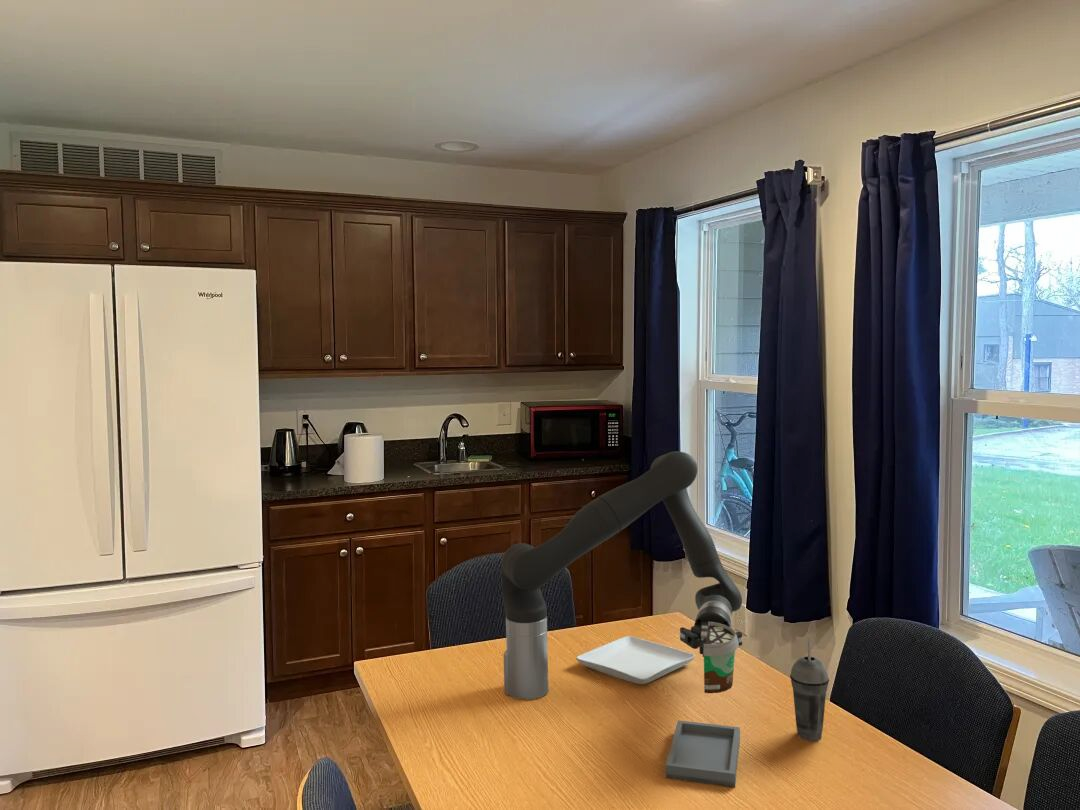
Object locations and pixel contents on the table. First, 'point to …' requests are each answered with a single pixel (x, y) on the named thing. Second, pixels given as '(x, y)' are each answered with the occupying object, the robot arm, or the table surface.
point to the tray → (704, 753)
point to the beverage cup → (809, 695)
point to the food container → (719, 658)
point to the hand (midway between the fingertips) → (707, 652)
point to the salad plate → (635, 659)
